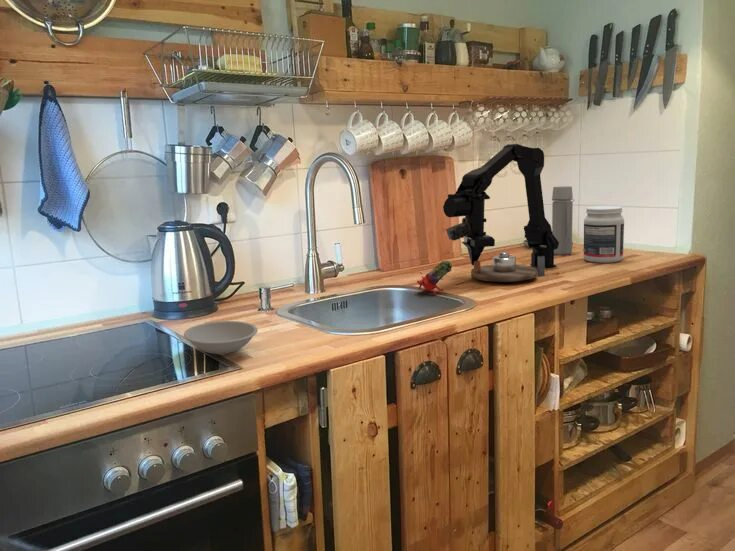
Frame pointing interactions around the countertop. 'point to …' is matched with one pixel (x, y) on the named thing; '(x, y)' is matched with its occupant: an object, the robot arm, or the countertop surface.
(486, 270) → the turntable
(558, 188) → the water bottle
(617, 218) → the supplement tub
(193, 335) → the dish
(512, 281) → the turntable base
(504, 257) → the aluminium cover
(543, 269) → the post
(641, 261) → the countertop surface
